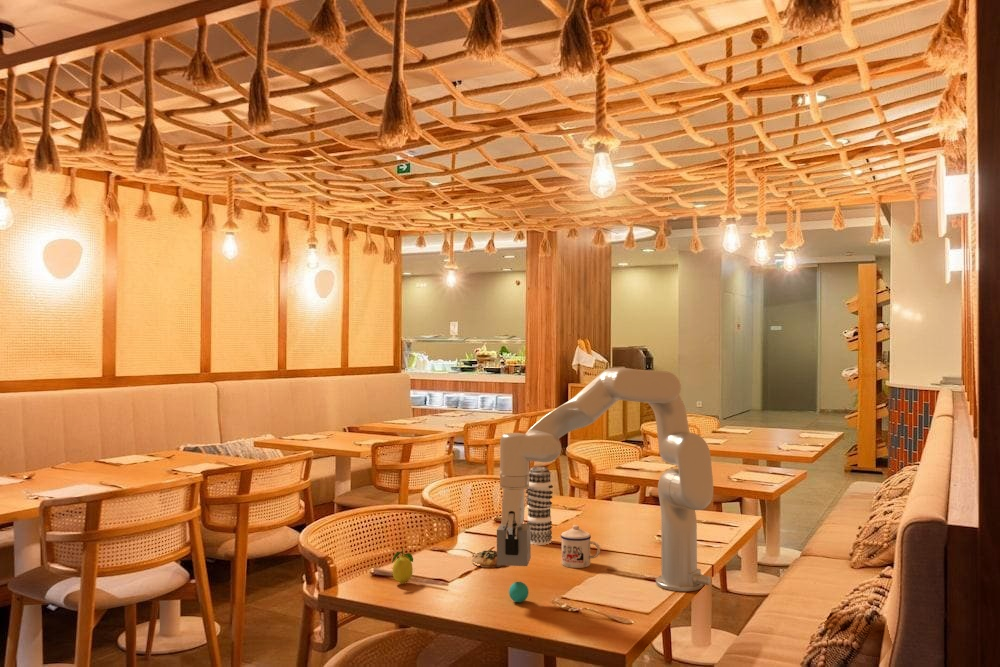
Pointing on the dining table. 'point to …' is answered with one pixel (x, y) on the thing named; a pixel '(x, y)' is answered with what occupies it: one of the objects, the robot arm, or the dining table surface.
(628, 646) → the dining table surface
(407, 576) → the lemon
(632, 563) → the dining table surface
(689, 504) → the robot arm
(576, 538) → the teacup with lid
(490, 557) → the bread roll
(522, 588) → the ball
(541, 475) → the decorative candle
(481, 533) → the dining table surface
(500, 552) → the upright gray block
